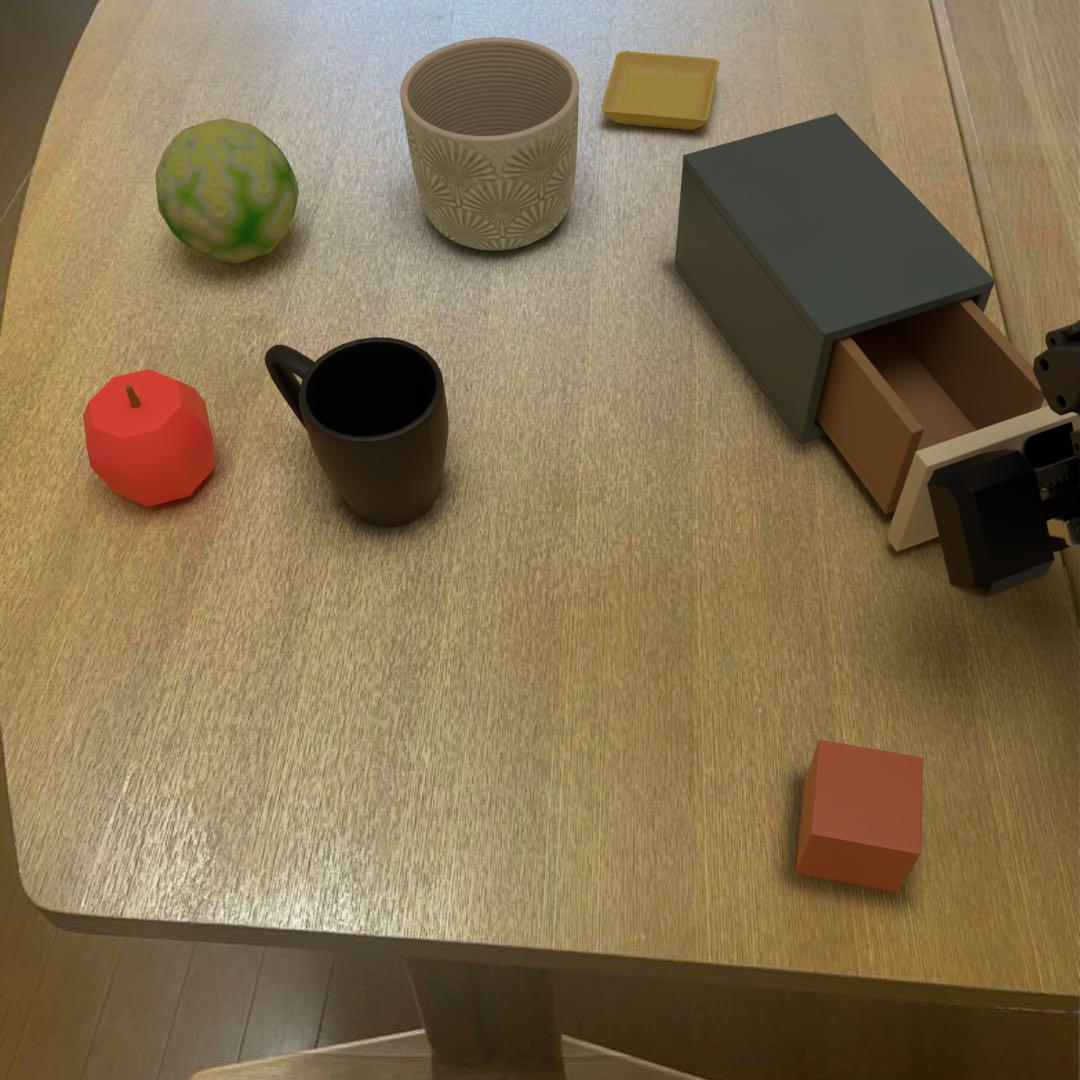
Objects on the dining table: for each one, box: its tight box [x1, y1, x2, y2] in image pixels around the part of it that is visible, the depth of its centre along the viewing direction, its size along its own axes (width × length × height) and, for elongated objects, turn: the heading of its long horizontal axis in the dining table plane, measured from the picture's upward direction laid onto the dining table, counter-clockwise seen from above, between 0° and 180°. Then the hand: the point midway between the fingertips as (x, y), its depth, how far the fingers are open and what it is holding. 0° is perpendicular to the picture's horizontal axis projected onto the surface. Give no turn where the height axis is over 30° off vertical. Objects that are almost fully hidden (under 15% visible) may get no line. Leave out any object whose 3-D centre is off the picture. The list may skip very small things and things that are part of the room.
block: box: [795, 739, 924, 894], centre depth 58 cm, size 5×5×5 cm
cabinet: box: [674, 112, 996, 445], centre depth 79 cm, size 19×12×10 cm, turn 22°
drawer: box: [816, 298, 1080, 552], centre depth 71 cm, size 22×10×8 cm, turn 22°
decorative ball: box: [154, 117, 300, 264], centre depth 85 cm, size 10×10×10 cm
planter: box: [399, 36, 580, 252], centre depth 86 cm, size 12×12×11 cm
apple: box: [82, 368, 216, 508], centre depth 73 cm, size 8×8×8 cm
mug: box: [264, 336, 450, 528], centre depth 72 cm, size 8×12×10 cm
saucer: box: [600, 50, 721, 131], centre depth 98 cm, size 9×9×2 cm
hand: (1009, 468), depth 65 cm, fingers closed
